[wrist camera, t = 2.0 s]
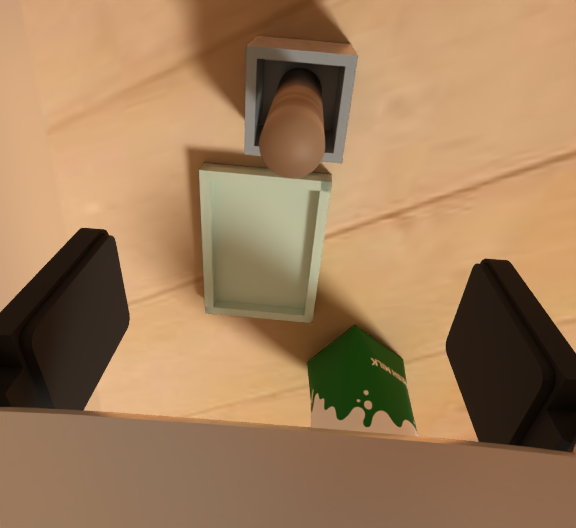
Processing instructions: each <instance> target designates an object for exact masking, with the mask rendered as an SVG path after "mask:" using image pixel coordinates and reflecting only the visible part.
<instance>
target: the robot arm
mask: <svg viewBox="0 0 576 528" xmlns="http://www.w3.org/2000/svg"><path fill="white" fill-rule="evenodd" d="M129 320H130V316H129V310H128V304H127V299H126V294H125V289H124V283H123V278H122V273H121V268H120V262H119V257H118V252H117V246H116V241H115V238H114V237H113V236H110V235H109V234H108V232H107V231H106V230H104V229H91V228H81V229H80V230H78V231H77V233H76V234H75V235H74V236H73V237H72V238H71V239H70V240H69V241H68V242H67V243H66V244H65V245H64V246H63V247H62V248H61V249H60V250H59V251H58V253H56V255H55V256H54V257H53V258H52V259H51V260H50V261H49V262H48V263H47V264H46V265H45V266H44V267H43V268H42V269H41V270H40V271H39V272H38V274H36V276H35V277H34V278H33V279H32V280H31V281H30V282H29V283H28V284H27V285H26V286H25V287H24V288H23V289H22V290H21V291H20V292H19V293H18V294H17V295H16V296H15V298H14V299H13V300H12V301H11V302H10V303H9V304H8V305H7V306H6V307H5V308H4V309H3V310H2V311H1V312H0V528H576V353H575V352H574V350H573V349H572V348H571V346H570V345H569V343H568V342H567V341H566V339H565V338H564V336H563V335H562V334H561V332H560V331H559V329H558V328H557V327H556V325H555V324H554V323H553V321H552V320H551V318H550V317H549V316H548V314H547V313H546V311H545V310H544V309H543V307H542V306H541V304H540V303H539V302H538V300H537V299H536V297H535V296H534V295H533V293H532V292H531V290H530V289H529V288H528V286H527V285H526V283H525V282H524V281H523V279H522V278H521V276H520V275H519V274H518V272H517V271H516V269H515V268H514V267H513V265H512V264H511V263H510V262H509V261H507V260H496V259H484V260H482V261H481V263H480V264H475V265H474V266H473V269H472V271H471V274H470V277H469V279H468V282H467V285H466V288H465V290H464V293H463V296H462V299H461V301H460V304H459V307H458V310H457V313H456V315H455V318H454V321H453V324H452V326H451V329H450V332H449V335H448V337H447V341H446V352H447V356H448V358H449V361H450V364H451V367H452V369H453V372H454V375H455V378H456V380H457V383H458V386H459V389H460V391H461V394H462V397H463V400H464V402H465V405H466V408H467V410H468V413H469V416H470V419H471V421H472V424H473V427H474V430H475V432H476V435H477V438H478V441H479V442H474V441H465V440H454V439H442V438H431V437H419V436H407V435H395V434H384V433H372V432H360V431H348V430H336V429H323V428H311V427H298V426H286V425H273V424H260V423H248V422H235V421H222V420H209V419H195V418H182V417H168V416H155V415H141V414H128V413H114V412H99V411H83V410H84V408H85V406H86V405H87V403H88V401H89V399H90V397H91V395H92V393H93V392H94V390H95V388H96V386H97V384H98V382H99V380H100V379H101V377H102V375H103V373H104V371H105V369H106V367H107V366H108V364H109V362H110V360H111V358H112V356H113V354H114V353H115V351H116V349H117V347H118V345H119V343H120V341H121V340H122V338H123V336H124V334H125V332H126V330H127V328H128V325H129Z"/></svg>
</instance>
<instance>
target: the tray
mask: <svg viewBox="0 0 576 528" xmlns="http://www.w3.org/2000/svg"><path fill="white" fill-rule="evenodd" d="M199 182H200V206H201V229H202V252H203V276H204V299H205V313H208V314H219V315H230V316H241V317H251V318H262V319H273V320H284V321H295V322H305V323H312V320H313V313H314V306H315V299H316V292H317V285H318V278H319V271H320V264H321V257H322V250H323V243H324V235H325V228H326V221H327V214H328V207H329V200H330V193H331V186H332V176H331V174H324V173H313V172H311V173H309V174H307V175H305V176H302V177H298V178H287V177H283V176H280V175H277V174H276V173H274V172H273V171H271V170H270V169H269V168H258V167H247V166H236V165H225V164H214V163H203V164H202V166H201V168H200V169H199Z"/></svg>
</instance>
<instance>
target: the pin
mask: <svg viewBox="0 0 576 528" xmlns="http://www.w3.org/2000/svg"><path fill="white" fill-rule="evenodd" d="M259 150H260V154H261V157H262V159H263V161H264V163H265V164H266V166H267V167H268V168H269V169H270V170H271V171H273V172H274V173H276V174H277V175H280V176H283V177H287V178H298V177H302V176H305V175H307V174H309V173H311V172H312V171H314V170H315V169H316V168H317V167H318V165H319V164H320V162H321V161H322V159H323V156H324V152H325V135H324V120H323V104H322V89H321V83H320V81H319V79H318V77H317V76H316V74H315V73H313V72H312V71H311V70H309V69H306V68H302V67H298V68H293V69H291V70H289V71H288V72H286V73H285V74H284V75H283V77H282V78H281V80H280V82H279V85H278V88H277V91H276V94H275V96H274V99H273V102H272V105H271V108H270V110H269V113H268V116H267V119H266V122H265V124H264V127H263V130H262V133H261V136H260V140H259Z"/></svg>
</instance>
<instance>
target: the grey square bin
mask: <svg viewBox="0 0 576 528" xmlns="http://www.w3.org/2000/svg"><path fill="white" fill-rule="evenodd" d="M357 59H358V55H357V53H356V51H355V50H354V48H353V46H352V45H351V44H346V43H335V42H324V41H313V40H302V39H291V38H280V37H269V36H256V37H255V38H254V39H253V40H252V41H251V42H250V43H249V44H248V45H246V93H245V146H244V155H255V156H261V154H260V150H259V140H260V136H261V133H262V130H263V127H264V124H265V122H266V119H267V116H268V113H269V110H270V108H271V105H272V102H273V99H274V96H275V94H276V91H277V88H278V85H279V82H280V80H281V78H282V77H283V75H284V74H285V73H286V72H288V71H289V70H291V69H293V68H298V67H302V68H306V69H309V70H311V71H312V72H313V73H315V74H316V76H317V77H318V79H319V81H320V83H321V89H322V104H323V120H324V135H325V152H324V156H323V159H322V161H321V162H331V163H342V159H343V152H344V145H345V139H346V132H347V126H348V119H349V112H350V106H351V99H352V93H353V86H354V79H355V73H356V66H357Z"/></svg>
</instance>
